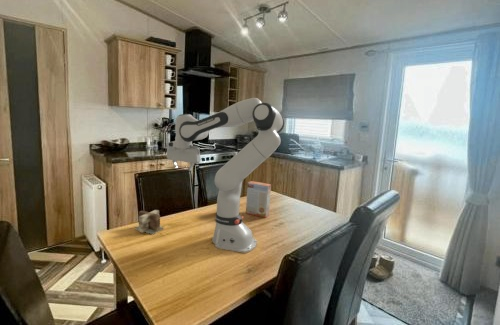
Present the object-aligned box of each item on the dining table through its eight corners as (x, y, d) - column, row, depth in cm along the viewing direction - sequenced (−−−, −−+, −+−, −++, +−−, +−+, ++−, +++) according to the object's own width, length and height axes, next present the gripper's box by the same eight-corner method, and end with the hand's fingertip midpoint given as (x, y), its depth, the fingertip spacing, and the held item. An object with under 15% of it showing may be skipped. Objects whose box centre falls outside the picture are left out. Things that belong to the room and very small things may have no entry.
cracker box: (269, 215, 173) (271, 183, 169) (265, 218, 167) (268, 185, 163) (249, 210, 178) (251, 180, 175) (245, 213, 173) (247, 182, 169)
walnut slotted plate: (163, 228, 144) (163, 213, 142) (152, 234, 137) (152, 218, 135) (146, 224, 149) (146, 208, 147) (135, 229, 141) (134, 213, 140)
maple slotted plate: (155, 223, 148) (155, 209, 147) (159, 224, 147) (159, 210, 146) (138, 231, 137) (138, 216, 136) (142, 232, 136) (142, 217, 135)
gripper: (203, 145, 144) (202, 171, 147) (172, 142, 152) (172, 165, 155) (196, 146, 139) (195, 173, 141) (164, 142, 146) (164, 167, 149)
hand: (183, 169), depth 148 cm, fingers open, 8 cm apart
